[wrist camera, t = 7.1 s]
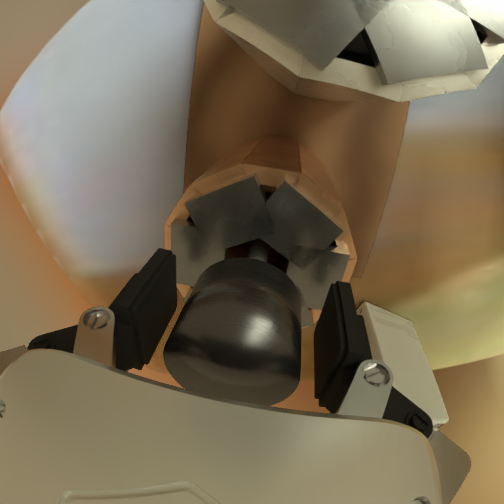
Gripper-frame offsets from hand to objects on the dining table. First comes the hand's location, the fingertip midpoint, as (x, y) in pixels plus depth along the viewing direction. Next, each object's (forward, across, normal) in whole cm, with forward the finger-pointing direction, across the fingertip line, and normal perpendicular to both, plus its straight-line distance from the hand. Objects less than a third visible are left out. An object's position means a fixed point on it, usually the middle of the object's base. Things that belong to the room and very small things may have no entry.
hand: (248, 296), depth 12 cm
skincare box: (+16, -15, +14) cm, 26 cm away
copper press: (+15, 0, +1) cm, 15 cm away
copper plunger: (+11, 0, 0) cm, 11 cm away
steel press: (+15, -2, -15) cm, 21 cm away
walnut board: (+16, -1, -8) cm, 18 cm away
